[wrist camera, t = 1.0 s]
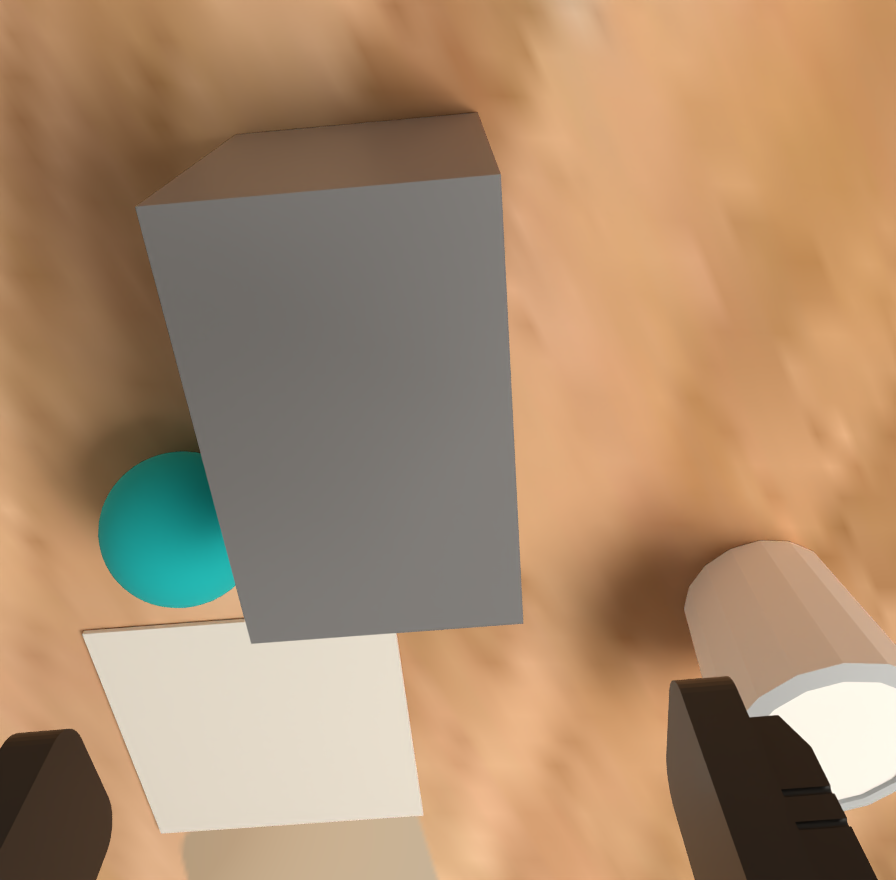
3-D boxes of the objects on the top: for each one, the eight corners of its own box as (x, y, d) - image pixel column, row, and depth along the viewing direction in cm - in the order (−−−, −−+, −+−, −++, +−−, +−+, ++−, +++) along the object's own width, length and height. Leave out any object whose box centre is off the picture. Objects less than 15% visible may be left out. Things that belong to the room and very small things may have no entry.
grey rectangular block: (235, 134, 23) (134, 206, 15) (477, 112, 23) (500, 174, 15) (301, 464, 28) (251, 643, 20) (498, 448, 28) (523, 623, 20)
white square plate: (84, 630, 31) (82, 634, 31) (392, 607, 31) (392, 610, 31) (162, 829, 37) (161, 833, 37) (423, 811, 37) (423, 815, 37)
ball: (111, 430, 27) (49, 514, 23) (258, 418, 27) (225, 500, 23) (149, 550, 30) (100, 647, 25) (285, 540, 30) (260, 635, 25)
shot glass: (708, 510, 29) (782, 647, 23) (881, 544, 30) (995, 686, 24) (642, 649, 32) (691, 803, 26) (800, 677, 33) (883, 832, 27)
